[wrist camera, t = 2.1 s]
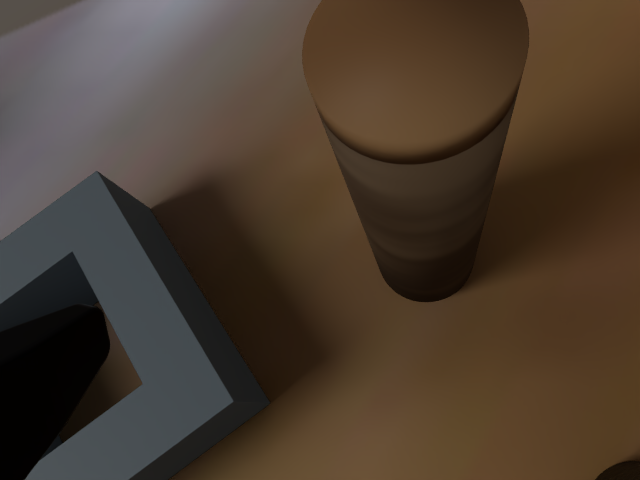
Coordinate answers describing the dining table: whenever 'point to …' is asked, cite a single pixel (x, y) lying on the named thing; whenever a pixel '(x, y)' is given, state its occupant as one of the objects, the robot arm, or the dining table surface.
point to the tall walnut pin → (418, 123)
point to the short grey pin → (622, 472)
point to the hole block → (129, 334)
